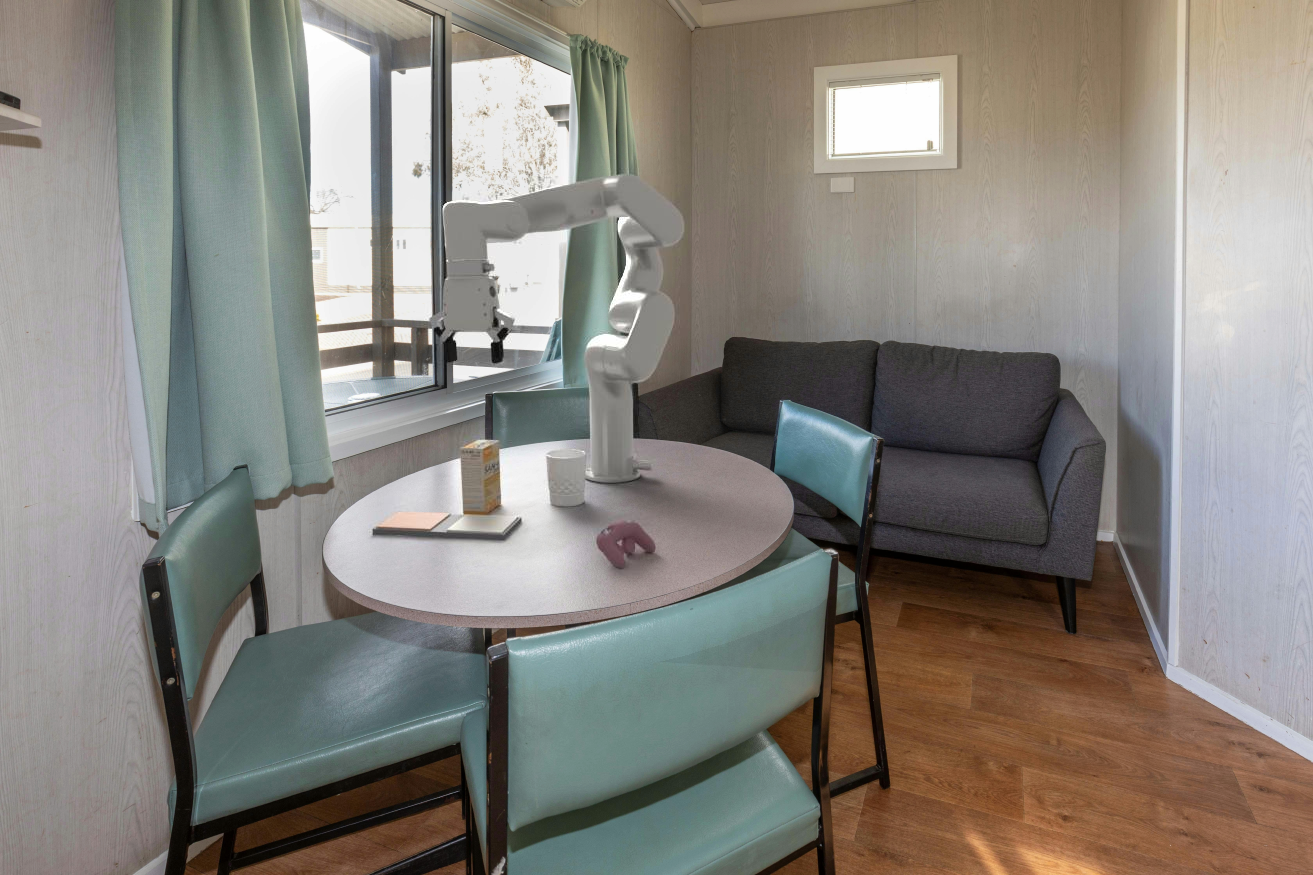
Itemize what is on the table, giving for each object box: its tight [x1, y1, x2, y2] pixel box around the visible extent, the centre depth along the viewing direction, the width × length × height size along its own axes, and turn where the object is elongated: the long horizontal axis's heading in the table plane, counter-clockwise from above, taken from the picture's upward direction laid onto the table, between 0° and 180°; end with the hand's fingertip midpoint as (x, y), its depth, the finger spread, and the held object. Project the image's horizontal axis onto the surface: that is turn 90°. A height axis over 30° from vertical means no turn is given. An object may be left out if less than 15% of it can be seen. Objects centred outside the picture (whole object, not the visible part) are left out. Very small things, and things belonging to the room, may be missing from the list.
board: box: [371, 510, 523, 542], centre depth 144 cm, size 24×10×1 cm, turn 82°
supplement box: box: [459, 439, 502, 515], centre depth 154 cm, size 8×5×13 cm, turn 168°
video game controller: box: [595, 519, 657, 569], centre depth 129 cm, size 10×5×7 cm, turn 145°
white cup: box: [545, 448, 587, 508], centre depth 159 cm, size 8×8×10 cm
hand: (474, 362), depth 153 cm, fingers open, 9 cm apart
